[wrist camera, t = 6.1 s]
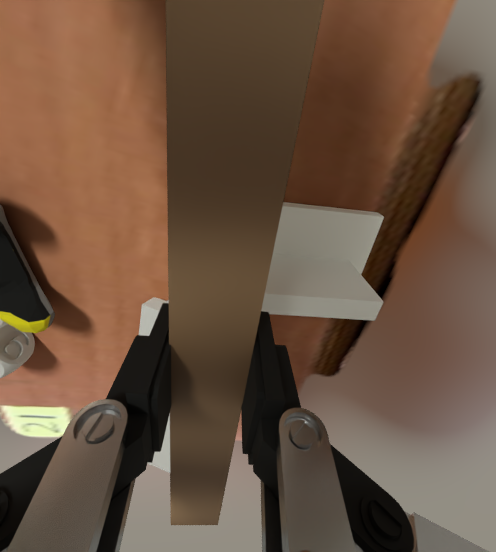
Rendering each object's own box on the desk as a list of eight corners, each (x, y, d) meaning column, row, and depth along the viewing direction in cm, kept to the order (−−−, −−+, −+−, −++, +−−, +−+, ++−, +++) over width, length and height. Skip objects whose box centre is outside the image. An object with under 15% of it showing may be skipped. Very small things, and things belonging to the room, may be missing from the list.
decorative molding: (141, 428, 50) (189, 448, 50) (126, 454, 46) (178, 476, 45) (163, 284, 34) (235, 312, 33) (141, 304, 29) (224, 336, 29)
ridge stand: (180, 190, 25) (156, 222, 17) (376, 212, 27) (434, 249, 19) (181, 293, 31) (164, 351, 23) (341, 304, 33) (375, 361, 25)
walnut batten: (201, -85, 6) (161, -341, 3) (303, -60, 7) (378, -265, 3) (183, 448, 18) (170, 525, 14) (220, 449, 18) (217, 524, 15)
